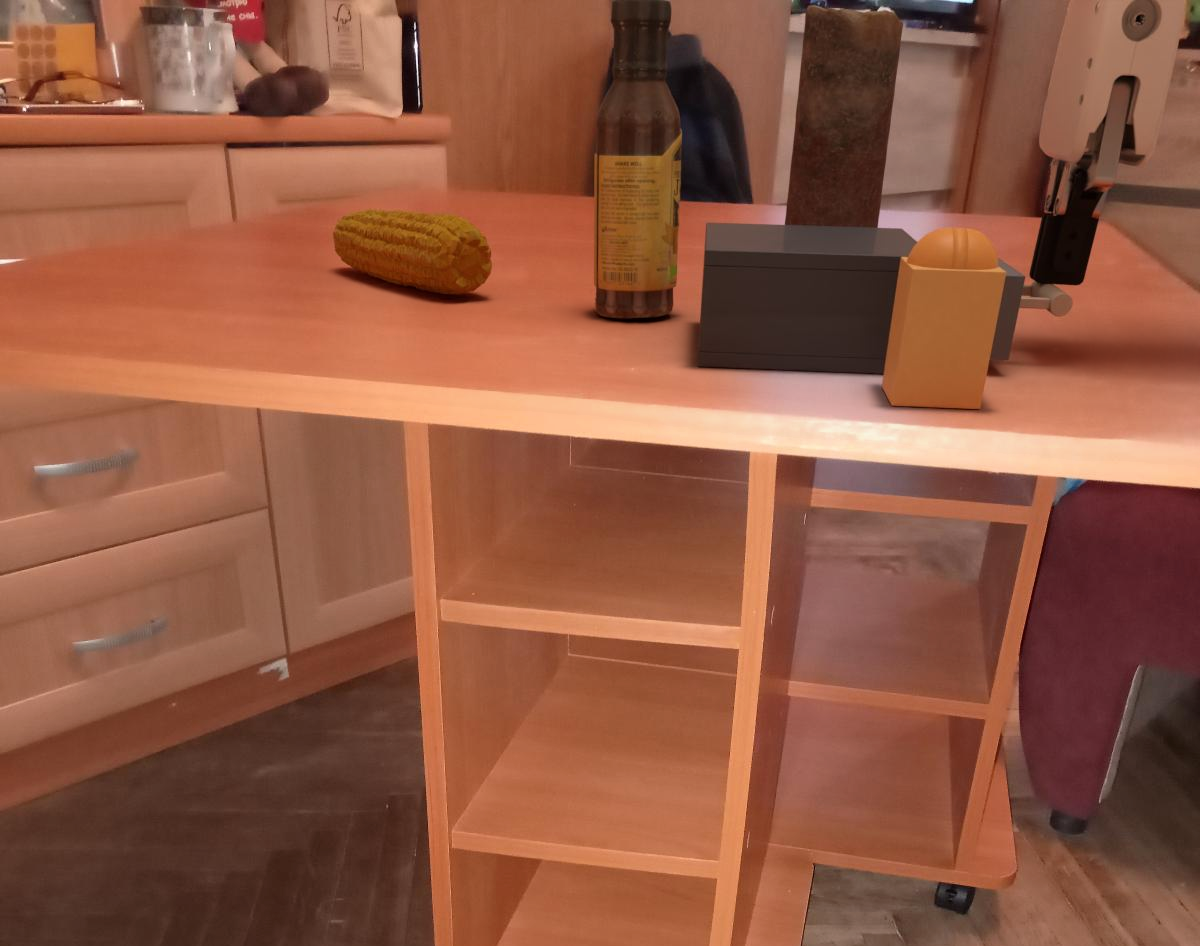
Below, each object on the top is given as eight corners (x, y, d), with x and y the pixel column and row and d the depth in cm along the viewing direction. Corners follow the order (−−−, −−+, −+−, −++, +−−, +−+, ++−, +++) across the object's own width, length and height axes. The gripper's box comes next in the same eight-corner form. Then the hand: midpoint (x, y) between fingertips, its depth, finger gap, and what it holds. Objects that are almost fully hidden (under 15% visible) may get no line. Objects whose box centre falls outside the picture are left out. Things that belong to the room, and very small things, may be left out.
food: (504, 298, 93) (502, 216, 89) (446, 306, 90) (441, 221, 86) (366, 265, 106) (360, 192, 103) (311, 270, 103) (303, 195, 99)
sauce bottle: (687, 320, 86) (705, -3, 76) (609, 324, 84) (617, -6, 74) (654, 305, 91) (667, 1, 81) (580, 309, 89) (583, -2, 79)
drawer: (1028, 323, 83) (1044, 249, 80) (1076, 363, 72) (1096, 278, 69) (794, 315, 84) (802, 241, 81) (806, 353, 73) (816, 268, 70)
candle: (793, 292, 98) (822, 8, 87) (878, 300, 95) (919, 8, 84) (764, 306, 92) (791, 3, 81) (853, 315, 90) (893, 3, 79)
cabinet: (887, 331, 84) (902, 228, 81) (916, 375, 72) (935, 257, 69) (699, 324, 85) (706, 222, 82) (697, 366, 73) (705, 249, 70)
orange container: (965, 390, 69) (996, 224, 64) (980, 409, 65) (1014, 234, 61) (881, 387, 70) (905, 221, 65) (891, 405, 66) (918, 231, 61)
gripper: (1252, -69, 60) (1147, 305, 70) (1159, -47, 73) (1081, 268, 83) (1107, -75, 61) (1023, 298, 71) (1039, -52, 73) (976, 262, 83)
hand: (1055, 281), depth 77 cm, fingers closed
